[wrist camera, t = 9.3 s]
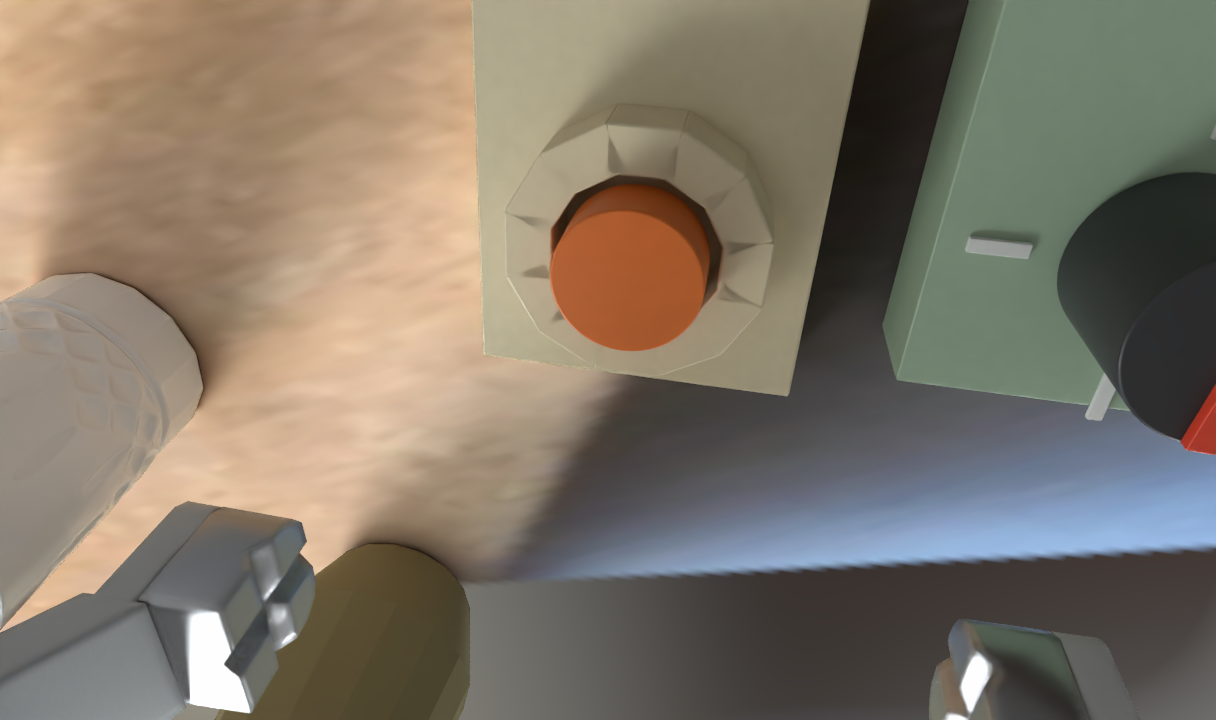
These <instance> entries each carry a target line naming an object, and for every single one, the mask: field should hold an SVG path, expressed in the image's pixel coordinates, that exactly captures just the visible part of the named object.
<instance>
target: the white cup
mask: <svg viewBox="0 0 1216 720" xmlns="http://www.w3.org/2000/svg"><path fill="white" fill-rule="evenodd" d="M202 391H203V383H202V379H201V374H200V370H199V365H198V361H197V356H196V353H195V351H194V350H193V348H192V347H191V345H190V344H189V342H188V341H187V339H186V338H185V336H184V335H183V334H182V332H181V331H180V329H179V328H178V326H177V325H176V323H175V322H174V321H173V319H172V318H171V317H170V316H169V315H168V314H167V313H165V312H164V311H163V310H162V309H160V308H159V307H158V306H156V305H155V304H154V303H153V302H151V301H150V300H149V299H147V298H146V297H145V296H143V295H142V294H141V293H140V292H138V291H137V290H136V289H134V288H132V287H129V286H127V285H124V284H121V283H118V282H116V281H113V280H110V279H107V278H105V277H102V276H99V275H96V274H93V273H80V274H65V275H53V276H51V277H48V278H46V279H44V280H42V281H40V282H38V283H36V284H34V285H33V286H31V287H29V288H27V289H25V290H23V291H21V292H19V293H17V294H15V295H13V296H11V297H9V298H7V299H5V300H3V301H1V302H0V630H1V629H2V628H3V626H4V625H5V624H6V623H7V622H8V621H9V620H10V619H11V618H12V617H13V616H14V615H15V613H16V612H17V611H18V610H19V609H20V608H21V607H22V606H23V605H24V604H25V603H26V602H27V600H28V599H29V598H30V597H31V596H32V595H33V594H34V593H35V592H36V591H37V590H38V589H39V588H40V586H41V585H42V584H43V583H44V582H45V581H46V580H47V579H48V578H49V577H50V576H51V575H52V574H53V573H54V571H55V570H56V569H57V568H58V567H59V566H60V565H61V564H62V563H63V562H64V561H65V560H66V559H67V558H68V556H69V555H70V554H71V553H72V552H73V551H74V550H75V549H76V548H77V547H78V546H79V545H80V544H81V543H82V542H83V540H84V539H85V538H86V537H87V536H88V535H89V534H90V533H91V532H92V531H93V530H94V529H95V528H96V527H97V525H98V524H99V523H100V522H101V521H102V520H103V519H104V518H105V517H106V516H107V515H108V514H109V512H110V511H111V510H112V509H113V508H114V506H115V505H116V504H117V502H118V501H119V500H120V498H121V497H122V496H123V495H124V494H125V493H126V492H127V491H128V490H129V489H130V488H131V487H132V486H133V485H134V484H135V483H136V482H137V481H138V480H139V479H140V478H141V476H142V475H143V474H144V472H145V471H146V470H147V468H148V467H149V466H150V464H151V463H152V462H153V460H154V459H155V457H156V456H157V454H158V453H159V452H160V451H161V450H162V449H163V448H164V447H165V446H166V445H167V444H168V443H169V442H170V441H171V440H172V439H173V438H174V437H175V436H176V435H177V434H178V433H179V432H180V431H181V430H182V428H183V427H184V426H185V425H186V424H187V423H188V422H189V421H190V420H191V419H192V418H193V416H194V414H195V411H196V408H197V405H198V403H199V400H200V397H201V394H202Z"/></svg>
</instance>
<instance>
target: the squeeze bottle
mask: <svg viewBox="0 0 1216 720" xmlns="http://www.w3.org/2000/svg"><path fill="white" fill-rule="evenodd" d="M277 657H278V664H279V669H278V670H277V672H276V673H275V675H274V677H273V678H272V680H271V682H270V683H269V685H268V687H267V688H266V690H265V691H264V693H263V695H262V696H261V698H260V700H259V701H258V703H257V704H256V706H255V708H254V709H253V711H252V713H245V712H239V711H232V710H226V709H220V710H219V712H218V714H217V716H216V718H215V720H458V719H459V717H460V715H461V712H462V710H463V708H464V704H465V700H466V697H467V693H468V689H469V685H470V608H469V604H468V601H467V598H466V595H465V592H464V589H463V587H462V586H461V585H460V583H459V582H458V581H457V580H456V579H455V578H454V576H453V575H452V574H451V573H450V572H449V570H448V569H447V568H445V567H444V566H442V565H441V564H439V563H438V562H436V561H434V560H433V559H431V558H430V557H428V556H427V555H425V554H423V553H421V552H418V551H415V550H412V549H408V548H405V547H402V546H399V545H396V544H366V545H363V546H361V547H358V548H355V549H353V550H350V551H347V552H346V553H344V554H343V555H342V556H340V557H339V558H338V559H337V560H335V561H334V562H333V563H331V564H330V565H329V566H327V567H326V568H325V569H323V570H322V571H321V572H319V573H318V574H317V575H315V597H314V601H313V604H312V607H311V610H310V614H309V617H308V620H307V621H306V623H305V625H304V627H303V628H302V630H301V632H300V634H299V635H298V637H297V638H296V639H295V640H293V641H292V642H290V643H288V644H287V645H285V646H284V647H282V648H280V649H279V650H277Z"/></svg>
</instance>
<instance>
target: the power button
mask: <svg viewBox="0 0 1216 720" xmlns="http://www.w3.org/2000/svg"><path fill="white" fill-rule="evenodd" d="M709 263H710V249H709V242H708V238H707V235H706V232H705V230H704V227H703V225H702V224H701V222H700V220H699V218H698V217H697V216H696V214H695V213H694V212H693V211H692V210H691V208H690V207H689V206H688V205H687V204H685V203H684V202H683V201H682V200H680V199H679V198H678V197H676V196H674V195H673V194H671V193H669V192H667V191H665V190H662V189H660V188H657V187H653V186H649V185H643V184H624V185H618V186H613V187H610V188H607V189H605V190H602V191H600V192H599V193H597V194H595V195H593V196H592V197H591V198H589V199H588V200H587V201H586V202H585V203H584V204H582V205H581V206H580V208H579V209H578V210H577V212H576V213H575V214H574V216H573V218H572V220H571V221H570V223H569V225H568V227H567V228H566V230H565V232H564V234H563V236H562V237H561V239H560V241H559V243H558V244H557V246H556V249H555V251H554V254H553V256H552V261H551V266H550V284H551V289H552V293H553V296H554V299H555V302H556V304H557V306H558V308H559V310H560V312H561V313H562V315H563V316H564V318H565V319H566V320H567V321H568V322H569V324H570V325H571V326H572V327H573V328H574V329H575V330H577V331H578V332H579V333H580V334H582V335H583V336H584V337H586V338H587V339H589V340H591V341H593V342H595V343H597V344H599V345H602V346H604V347H608V348H611V349H615V350H620V351H644V350H650V349H654V348H657V347H660V346H663V345H665V344H667V343H669V342H671V341H673V340H674V339H676V338H678V337H679V336H680V335H681V334H683V333H684V332H685V331H686V330H687V329H688V328H689V327H690V326H691V324H692V323H693V322H694V320H695V319H696V317H697V315H698V314H699V312H700V309H701V307H702V304H703V301H704V296H705V290H706V283H707V277H708V270H709Z"/></svg>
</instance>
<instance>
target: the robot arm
mask: <svg viewBox="0 0 1216 720" xmlns="http://www.w3.org/2000/svg"><path fill="white" fill-rule="evenodd" d="M306 542H307V540H306V537H305V533H304V530H303V526H302V523H301V522H299V521H296V520H293V519H289V518H283V517H277V516H272V515H266V514H260V513H255V512H249V511H244V510H238V509H232V508H227V507H218V506H212V505H206V504H201V503H195V502H189V501H187V502H185V503H183V504H181V505H179V506H177V507H175V508H174V509H173V510H172V511H171V512H170V513H169V514H168V515H167V516H166V517H165V518H164V519H163V520H162V522H161V523H160V524H159V525H158V526H157V527H156V528H155V529H154V530H153V531H152V532H151V533H150V534H149V536H148V537H147V538H146V539H145V540H144V541H143V542H142V543H141V544H140V545H139V546H138V547H137V549H136V550H135V551H134V552H133V553H132V554H131V555H130V556H129V557H128V558H127V559H126V560H125V562H124V563H123V564H122V565H121V566H120V567H119V568H118V569H117V570H116V571H115V572H114V573H113V575H112V576H111V577H110V578H109V579H108V580H107V581H106V582H105V583H104V584H103V585H102V586H101V587H100V589H99V590H98V591H97V592H96V593H95V594H88V593H82V594H79V595H77V596H75V597H73V598H71V599H69V600H67V601H65V602H63V603H61V604H59V605H57V606H55V607H53V608H51V609H49V610H46V611H44V612H42V613H40V614H38V615H36V616H34V617H32V618H30V619H28V620H26V621H24V622H22V623H20V624H18V625H16V626H13V627H11V628H9V629H7V630H5V631H3V632H1V633H0V720H170V719H172V718H173V717H174V716H176V715H177V714H178V713H180V712H181V711H182V710H184V709H185V708H186V704H193V705H199V706H206V707H213V708H219V709H226V710H232V711H239V712H245V713H252V711H253V709H254V708H255V706H256V704H257V703H258V701H259V700H260V698H261V696H262V695H263V693H264V691H265V690H266V688H267V687H268V685H269V683H270V682H271V680H272V678H273V677H274V675H275V673H276V672H277V670H278V669H279V664H278V657H277V650H279V649H280V648H282V647H284V646H285V645H287V644H288V643H290V642H292V641H293V640H295V639H296V638H297V637H298V635H299V634H300V632H301V630H302V628H303V627H304V625H305V623H306V621H307V620H308V617H309V614H310V610H311V607H312V604H313V601H314V597H315V576H314V571H313V566H312V565H311V564H310V563H309V562H308V561H307V560H306V559H305V558H304V557H303V556H302V555H301V554H300V553H299V552H300V551H301V549H302V548H303V546H304V545H305V543H306ZM948 644H949V648H950V652H951V658H949V659H947V660H945V661H944V662H942V663H940V664H938V666H937V669H936V672H935V675H934V678H933V681H932V684H931V692H930V702H929V714H930V720H1140V719H1139V717H1138V714H1137V712H1136V710H1135V707H1134V705H1133V703H1132V701H1131V698H1130V696H1129V694H1128V692H1127V689H1126V687H1125V685H1124V683H1123V680H1122V678H1121V676H1120V674H1119V671H1118V669H1117V667H1116V665H1115V662H1114V660H1113V658H1112V656H1111V653H1110V651H1109V649H1108V647H1107V646H1106V645H1105V644H1104V643H1103V642H1102V641H1101V640H1100V639H1099V638H1091V637H1085V636H1078V635H1071V634H1064V633H1057V632H1048V631H1045V630H1038V629H1031V628H1024V627H1016V626H1009V625H1002V624H995V623H987V622H981V621H974V620H966V619H960V620H958V621H957V622H956V623H955V624H954V626H953V628H952V630H951V633H950V635H949V638H948ZM185 703H186V704H185Z"/></svg>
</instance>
